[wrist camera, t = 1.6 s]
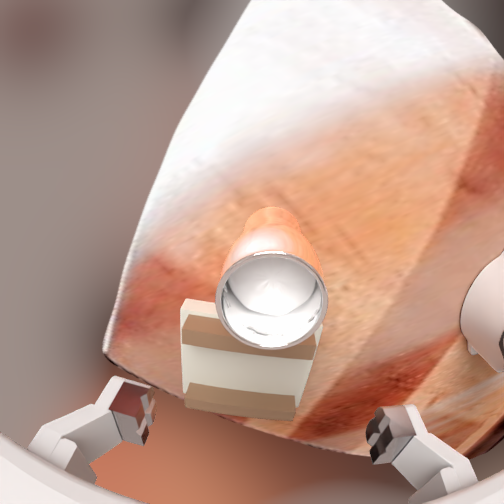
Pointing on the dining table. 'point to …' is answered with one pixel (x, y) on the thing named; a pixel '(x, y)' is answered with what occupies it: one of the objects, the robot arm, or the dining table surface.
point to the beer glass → (271, 283)
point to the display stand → (239, 369)
